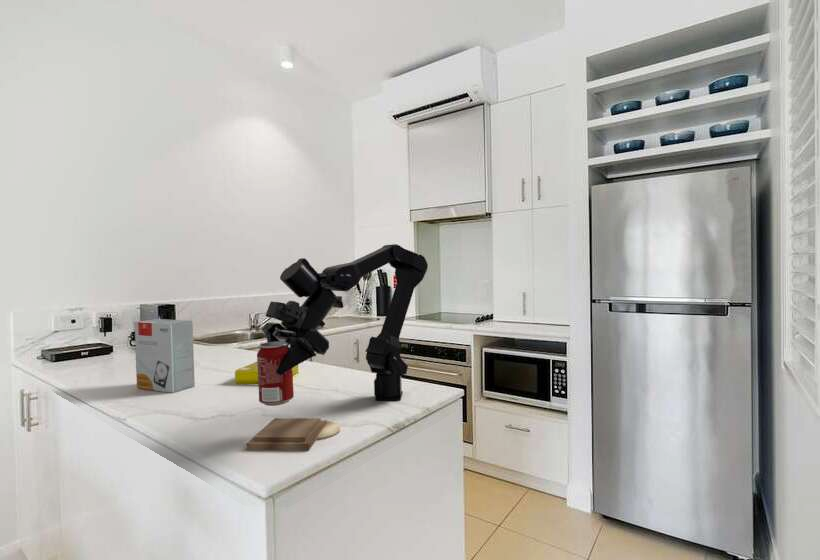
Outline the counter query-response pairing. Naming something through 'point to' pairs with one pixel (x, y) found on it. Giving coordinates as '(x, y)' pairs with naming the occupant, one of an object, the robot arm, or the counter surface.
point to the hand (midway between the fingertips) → (269, 371)
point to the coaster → (329, 430)
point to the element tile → (252, 374)
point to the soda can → (273, 374)
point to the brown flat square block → (287, 434)
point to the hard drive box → (164, 355)
